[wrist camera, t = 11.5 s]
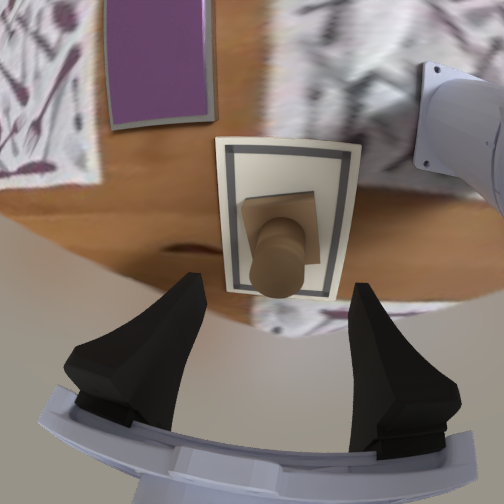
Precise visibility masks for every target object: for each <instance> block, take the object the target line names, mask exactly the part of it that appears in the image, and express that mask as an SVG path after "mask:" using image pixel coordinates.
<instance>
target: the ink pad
mask: <svg viewBox="0 0 504 504" xmlns="http://www.w3.org/2000/svg"><path fill="white" fill-rule="evenodd" d="M104 57H105V74H106V87H107V97H108V107H109V115H110V123H111V131H113V130H120V129H127V128H135V127H143V126H152V125H162V124H173V123H187V122H206V121H216V120H218V119H219V114H218V90H217V60H216V16H215V0H104Z"/></svg>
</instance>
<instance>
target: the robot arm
mask: <svg viewBox="0 0 504 504" xmlns="http://www.w3.org/2000/svg"><path fill="white" fill-rule="evenodd" d="M435 66H436V67H437V68H438V73H436V72H435V71H434V67H435ZM425 161H428V164H427V165H426V166H424V164H423V163H424V162H425ZM413 164H414V166H415V167H416V168H417V169H420V170H426V171H431V172H436V173H441V174H446V175H450V176H455V177H459V178H461V179H462V180H464V181H465V182H466V183H467V184H468V185H470V186H471V187H472V188H473V189H474V190H475V191H476V192H477V193H479V194H480V195H481V196H482V197H483V198H484V199H485V200H486V201H487V202H488V203H489V204H490V205H491V206H493V207H494V208H495V209H496V210H497V211H498V212H499V213H500V214H501V215H502V216H503V217H504V85H502V84H496V83H491V82H486V81H484V80H482V79H479V78H477V77H475V76H472V75H470V74H467V73H464V72H462V71H459V70H456V69H453V68H451V67H448V66H445V65H442V64H438V63H435V62H432V61H426V62H424V63H423V72H422V90H421V102H420V113H419V122H418V130H417V138H416V145H415V151H414V158H413ZM206 307H207V301H206V296H205V292H204V287H203V282H202V277H201V273H191V272H189V273H188V274H187V275H185V276H184V277H183V278H182V279H181V280H180V281H179V282H178V283H177V284H176V285H174V286H173V287H172V288H171V289H170V290H169V291H168V292H167V293H166V294H164V295H163V296H162V297H161V298H160V299H159V300H157V301H156V302H155V303H154V304H153V305H151V306H150V307H149V308H148V309H146V310H145V311H144V312H143V313H141V314H140V315H138V316H137V317H135V318H134V319H132V320H131V321H129V322H128V323H126V324H124V325H122V326H121V327H119V328H117V329H116V330H114V331H112V332H110V333H108V334H106V335H104V336H102V337H100V338H97V339H95V340H92V341H90V342H87V343H84V344H81V345H78V346H76V347H75V348H74V350H73V351H72V353H71V355H70V356H69V358H68V359H67V361H66V363H65V365H64V370H65V373H66V374H67V375H68V377H69V378H70V379H71V380H72V381H73V382H74V384H75V385H76V386H77V387H78V388H79V389H80V392H79V394H78V395H77V394H76V393H75V392H73V391H71V390H69V389H67V388H65V387H63V386H60V385H57V386H56V388H55V389H54V391H53V393H52V395H51V397H50V399H49V400H48V402H47V404H46V406H45V408H44V410H43V411H42V413H41V415H40V417H39V420H38V423H39V424H40V425H41V426H42V427H44V428H45V429H46V430H48V431H49V432H50V433H52V434H53V435H54V436H56V437H57V438H59V439H60V440H61V441H63V442H64V443H66V444H68V445H69V446H71V447H73V448H75V449H77V450H79V451H80V452H82V453H84V454H86V455H88V456H90V457H92V458H94V459H96V460H98V461H100V462H102V463H104V464H106V465H108V466H110V467H112V468H115V469H117V470H119V471H121V472H124V473H126V474H128V475H131V476H133V477H136V478H138V479H140V480H139V483H138V486H137V488H136V491H135V494H134V497H133V500H132V503H131V504H403V503H407V502H412V501H417V500H422V499H426V498H430V497H434V496H438V495H441V494H445V493H448V492H451V491H453V490H456V489H458V488H460V487H463V486H465V485H467V484H469V483H472V482H474V481H476V480H477V479H478V472H477V462H476V453H475V447H474V439H473V433H472V431H471V430H470V431H466V432H462V433H457V434H453V435H450V436H447V437H446V438H445V433H444V432H445V431H446V430H447V423H446V422H447V421H448V420H449V419H450V418H451V417H453V416H454V415H455V414H456V413H457V412H458V410H459V409H460V408H461V405H462V403H461V398H460V393H459V390H458V387H457V384H456V383H454V382H453V381H452V380H450V379H449V378H448V377H446V376H445V375H443V374H442V373H441V372H439V371H438V370H437V369H436V368H435V367H433V366H432V365H431V364H430V363H429V362H428V361H427V360H425V359H424V358H423V357H422V356H421V355H420V354H419V353H418V352H417V351H416V350H415V349H414V348H413V346H412V345H411V344H410V343H409V342H408V341H407V340H406V338H405V337H404V336H403V335H402V333H401V332H400V331H399V330H398V328H397V327H396V325H395V324H394V323H393V321H392V320H391V318H390V317H389V315H388V314H387V312H386V311H385V309H384V308H383V306H382V305H381V303H380V301H379V300H378V298H377V297H376V295H375V293H374V292H373V290H372V288H371V286H370V285H369V284H368V283H355V287H354V291H353V296H352V300H351V304H350V308H349V312H348V334H349V342H350V350H351V356H352V357H351V358H352V366H353V376H354V396H353V398H354V399H353V416H352V428H351V438H350V446H349V453H311V452H291V451H278V450H268V449H259V448H251V447H244V446H237V445H231V444H225V443H219V442H214V441H208V440H204V439H199V438H194V437H190V436H186V435H182V434H178V433H174V432H171V427H172V421H173V414H174V409H175V404H176V399H177V395H178V391H179V387H180V382H181V379H182V375H183V371H184V367H185V364H186V362H187V359H188V356H189V354H190V351H191V349H192V347H193V344H194V342H195V339H196V337H197V334H198V332H199V329H200V327H201V324H202V322H203V318H204V315H205V311H206Z"/></svg>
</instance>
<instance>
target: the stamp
mask: <svg viewBox="0 0 504 504" xmlns="http://www.w3.org/2000/svg"><path fill="white" fill-rule="evenodd" d="M241 213H242V217H243V221H244V225H245V230H246V234H247V238H248V242H249V246H250V251H251V255H252V259H253V260H252V264H251V268H250V271H249V279H250V282H251V284H252V286H253V287H254V288H255V289H256V290H257V291H258V292H259V293H261V294H262V295H265V296H267V297H270V298H287V297H290V296H292V295H294V294H296V293H297V292H298V291H299V290H300V289H301V288H302V286H303V284H304V274H305V265H310V264H320V246H319V235H318V224H317V214H316V204H315V195H314V191H305V192H295V193H285V194H275V195H266V196H258V197H249V198H245V201H244V203H243V205H242V207H241Z"/></svg>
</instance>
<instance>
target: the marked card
mask: <svg viewBox="0 0 504 504" xmlns="http://www.w3.org/2000/svg"><path fill="white" fill-rule="evenodd" d="M215 142H216V159H217V175H218V190H219V204H220V218H221V231H222V243H223V255H224V267H225V278H226V288H227V292H235V293H245V294H255V295H262V294H261V293H259V292H258V291H257V290H256V289H255V288H254V287H253V286H252V284H251V282H250V279H249V271H250V268H251V264H252V260H253V259H252V255H251V251H250V246H249V242H248V238H247V234H246V230H245V225H244V221H243V217H242V213H241V207H242V205H243V203H244V201H245V198H249V197H258V196H266V195H275V194H285V193H295V192H305V191H314V195H315V204H316V214H317V224H318V235H319V246H320V264H310V265H305V274H304V284H303V286H302V288H301V289H300V290H299V291H298V292H297V293H296V294H294V295H292V296H290V297H287V298H299V299H311V300H324V301H335V300H336V296H337V291H338V287H339V282H340V278H341V273H342V268H343V264H344V259H345V254H346V249H347V243H348V238H349V232H350V227H351V221H352V215H353V209H354V202H355V196H356V189H357V182H358V174H359V166H360V158H361V149H362V146H361V145H360V144H352V143H343V142H334V141H323V140H312V139H297V138H279V137H239V136H228V137H216V138H215Z"/></svg>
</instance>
